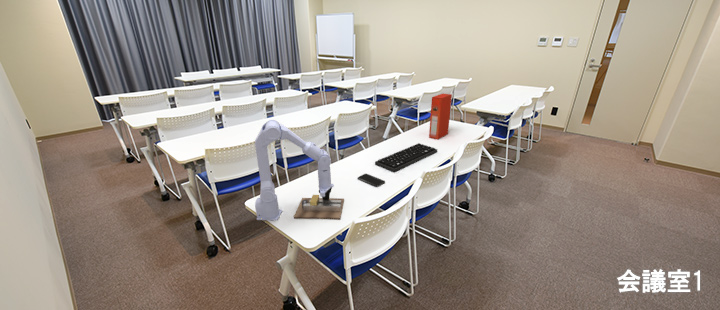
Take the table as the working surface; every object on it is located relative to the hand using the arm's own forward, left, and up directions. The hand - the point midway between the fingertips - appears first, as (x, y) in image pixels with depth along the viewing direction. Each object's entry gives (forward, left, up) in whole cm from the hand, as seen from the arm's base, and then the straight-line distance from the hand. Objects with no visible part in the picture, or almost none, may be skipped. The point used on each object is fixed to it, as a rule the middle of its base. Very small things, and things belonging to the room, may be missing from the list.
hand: (326, 201), depth 138 cm
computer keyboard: (+44, +58, -3) cm, 73 cm away
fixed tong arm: (-2, -4, -1) cm, 5 cm away
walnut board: (-3, -3, -2) cm, 4 cm away
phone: (+21, +26, -3) cm, 34 cm away
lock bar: (-5, -4, +2) cm, 6 cm away
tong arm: (0, -2, -1) cm, 2 cm away
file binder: (+73, +103, -2) cm, 126 cm away
